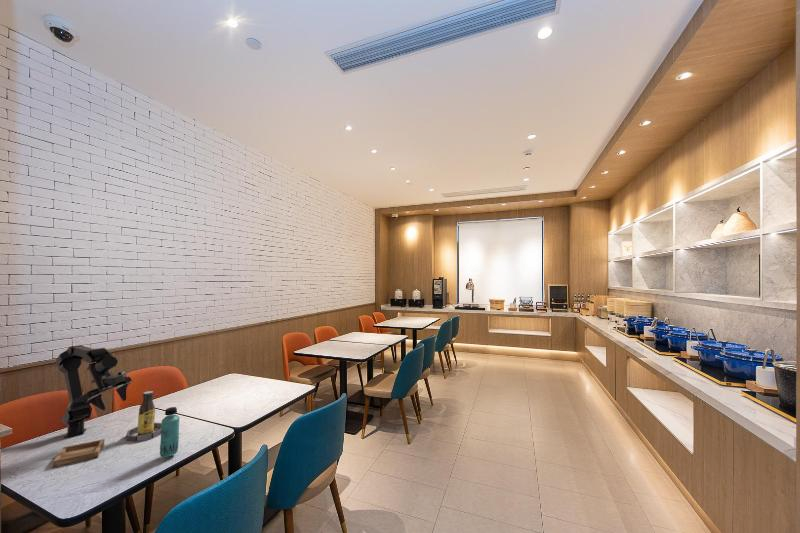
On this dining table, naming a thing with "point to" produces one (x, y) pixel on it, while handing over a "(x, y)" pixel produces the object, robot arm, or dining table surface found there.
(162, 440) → the beverage bottle
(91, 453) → the walnut tray
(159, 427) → the metal collar
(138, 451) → the dining table surface
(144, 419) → the sauce bottle
